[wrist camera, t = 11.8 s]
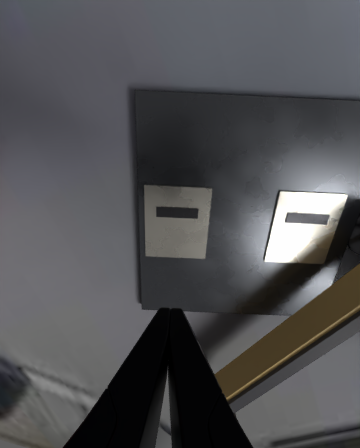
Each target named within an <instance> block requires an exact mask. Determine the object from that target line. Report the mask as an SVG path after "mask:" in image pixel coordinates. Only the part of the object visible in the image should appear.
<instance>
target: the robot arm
mask: <svg viewBox="0 0 360 448" xmlns="http://www.w3.org/2000/svg"><path fill="white" fill-rule="evenodd" d="M167 371H168V384H169V403H170V421H171V440H172V448H253V446H252V445H251V443H250V441H249V440H248V438H247V436H246V434H245V433H244V431H243V429H242V428H241V426H240V424H239V422H238V420H237V418H236V416H235V414H234V413H233V411H232V409H231V407H230V405H229V403H228V401H227V399H226V397H225V395H224V393H222V389H221V387H220V385H219V383H218V381H217V379H216V377H215V375H214V373H213V371H212V369H211V367H210V365H209V363H208V361H207V358H206V356H205V354H204V352H203V350H202V348H201V346H200V344H199V342H198V340H197V338H196V336H195V334H194V332H193V330H192V328H191V326H190V324H189V322H188V320H187V318H186V316H185V314H184V312H183V310H182V309H181V308H171V309H170V308H169V307H161V308H159V310H158V311H157V313H156V314H155V316H154V317H153V319H152V320H151V322H150V323H149V325H148V326H147V328H146V329H145V331H144V332H143V334H142V335H141V337H140V338H139V340H138V341H137V343H136V344H135V346H134V347H133V349H132V350H131V352H130V353H129V355H128V356H127V358H126V359H125V361H124V362H123V364H122V365H121V367H120V368H119V370H118V371H117V373H116V374H115V376H114V377H113V379H112V380H111V382H110V383H109V385H108V389H107V388H106V389H105V391H104V392H103V394H102V395H101V397H100V398H99V400H98V401H97V403H96V404H95V405H94V407H93V408H92V410H91V411H90V413H89V414H88V415H87V417H86V418H85V420H84V421H83V422H82V424H81V425H80V426H79V427H78V429H77V430H76V431H75V433H74V434H73V435H72V437H71V438H70V439H69V440H68V442H67V443H66V444H65V445H64V447H63V448H155V445H156V439H157V433H158V427H159V421H160V415H161V409H162V403H163V397H164V391H165V385H166V379H167Z"/></svg>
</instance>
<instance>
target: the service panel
mask: <svg viewBox="0 0 360 448" xmlns="http://www.w3.org/2000/svg"><path fill="white" fill-rule="evenodd" d="M135 111H136V143H137V175H138V206H139V238H140V270H141V301H142V309H144V310H159V308H161V307H169V308H170V309H171V308H181V309H182V310H183V311H191V312H214V313H237V314H261V315H284V316H292V315H293V314H294V313H296V312H297V311H298V310H300V309H301V308H302V307H304V306H305V305H306V304H307V303H309V302H310V301H311V300H313V299H314V298H315V297H317V296H318V295H319V294H321V293H322V292H323V291H324V290H326V289H327V288H328V287H330V286H331V285H332V283H333V280H334V278H335V275H336V272H337V270H338V267H339V265H340V262H341V259H342V257H343V254H344V252H345V249H346V246H347V244H348V245H349V247H350V248H351V249H352V250H353V251H354V252H356V253H357V254H359V255H360V101H348V100H328V99H307V98H287V97H266V96H245V95H225V94H204V93H183V92H163V91H142V90H135Z"/></svg>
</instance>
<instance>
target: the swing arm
mask: <svg viewBox="0 0 360 448" xmlns="http://www.w3.org/2000/svg"><path fill="white" fill-rule="evenodd" d="M359 331H360V264H358V265H357V266H356V267H354V268H353V269H352V270H351V271H349V272H348V273H347V274H345V275H344V276H343V277H341V278H340V279H339V280H338V281H336V282H335V283H334V284H332V285H331V286H330V287H328V288H327V289H326V290H324V291H323V292H322V293H321V294H319V295H318V296H317V297H315V298H314V299H313V300H311V301H310V302H309V303H307V304H306V305H305V306H304V307H302V308H301V309H300V310H298V311H297V312H296V313H294V314H293V315H292V316H290V317H289V318H288V319H287V320H285V321H284V322H283V323H281V324H280V325H279V326H277V327H276V328H275V329H273V330H272V331H271V332H270V333H268V334H267V335H266V336H264V337H263V338H262V339H260V340H259V341H258V342H256V343H255V344H254V345H253V346H251V347H250V348H249V349H247V350H246V351H245V352H243V353H242V354H241V355H239V356H238V357H237V358H236V359H234V360H233V361H232V362H230V363H229V364H228V365H226V366H225V367H224V368H222V369H221V370H220V371H219V372H217V373H216V374H214V375H215V377H216V379H217V381H218V383H219V385H220V387H221V389H222V393H224V395H225V397H226V399H227V401H228V403H229V405H230V407H231V409H232V411H233V413H234V414H235V412H237V411H238V410H240V409H241V408H243V407H244V406H246V405H248V404H249V403H251V402H252V401H254V400H255V399H257V398H258V397H260V396H261V395H263V394H264V393H266V392H267V391H269V390H270V389H272V388H274V387H275V386H277V385H278V384H280V383H281V382H283V381H284V380H286V379H287V378H289V377H290V376H292V375H293V374H295V373H296V372H298V371H300V370H301V369H303V368H304V367H306V366H307V365H309V364H310V363H312V362H313V361H315V360H316V359H318V358H319V357H321V356H322V355H324V354H326V353H327V352H329V351H330V350H332V349H333V348H335V347H336V346H338V345H339V344H341V343H342V342H344V341H345V340H347V339H348V338H350V337H352V336H353V335H355V334H356V333H358V332H359ZM235 416H236V414H235Z"/></svg>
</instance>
